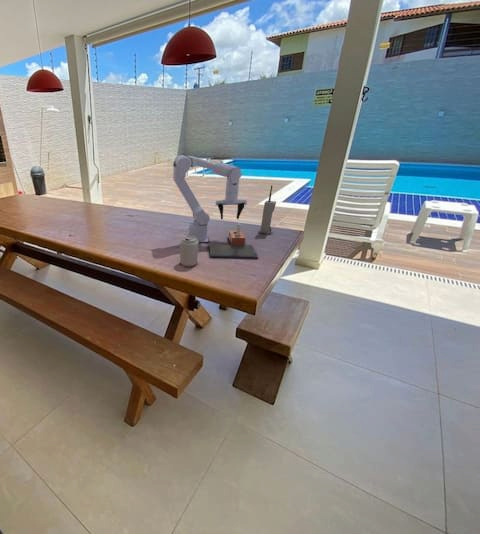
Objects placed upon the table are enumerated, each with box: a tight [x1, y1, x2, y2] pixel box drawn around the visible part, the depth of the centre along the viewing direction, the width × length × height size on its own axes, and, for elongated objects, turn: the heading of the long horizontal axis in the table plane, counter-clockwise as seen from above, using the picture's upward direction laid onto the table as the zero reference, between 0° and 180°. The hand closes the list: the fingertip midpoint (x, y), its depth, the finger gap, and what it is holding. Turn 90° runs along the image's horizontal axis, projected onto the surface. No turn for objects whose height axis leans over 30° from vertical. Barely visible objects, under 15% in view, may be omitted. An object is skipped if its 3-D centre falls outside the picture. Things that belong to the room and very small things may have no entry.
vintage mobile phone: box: [259, 184, 277, 235], centre depth 159 cm, size 4×5×25 cm
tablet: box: [208, 243, 259, 260], centre depth 143 cm, size 20×14×1 cm
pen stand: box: [228, 230, 246, 245], centre depth 154 cm, size 6×11×4 cm, turn 169°
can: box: [179, 235, 200, 267], centre depth 132 cm, size 8×8×12 cm
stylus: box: [236, 222, 242, 237], centre depth 151 cm, size 2×2×10 cm
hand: (229, 218), depth 156 cm, fingers open, 7 cm apart
